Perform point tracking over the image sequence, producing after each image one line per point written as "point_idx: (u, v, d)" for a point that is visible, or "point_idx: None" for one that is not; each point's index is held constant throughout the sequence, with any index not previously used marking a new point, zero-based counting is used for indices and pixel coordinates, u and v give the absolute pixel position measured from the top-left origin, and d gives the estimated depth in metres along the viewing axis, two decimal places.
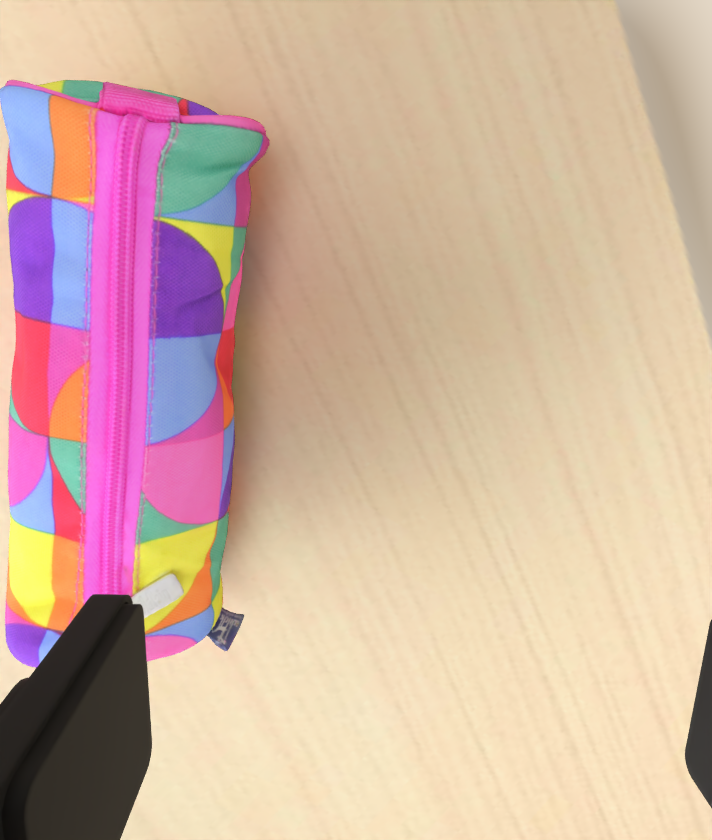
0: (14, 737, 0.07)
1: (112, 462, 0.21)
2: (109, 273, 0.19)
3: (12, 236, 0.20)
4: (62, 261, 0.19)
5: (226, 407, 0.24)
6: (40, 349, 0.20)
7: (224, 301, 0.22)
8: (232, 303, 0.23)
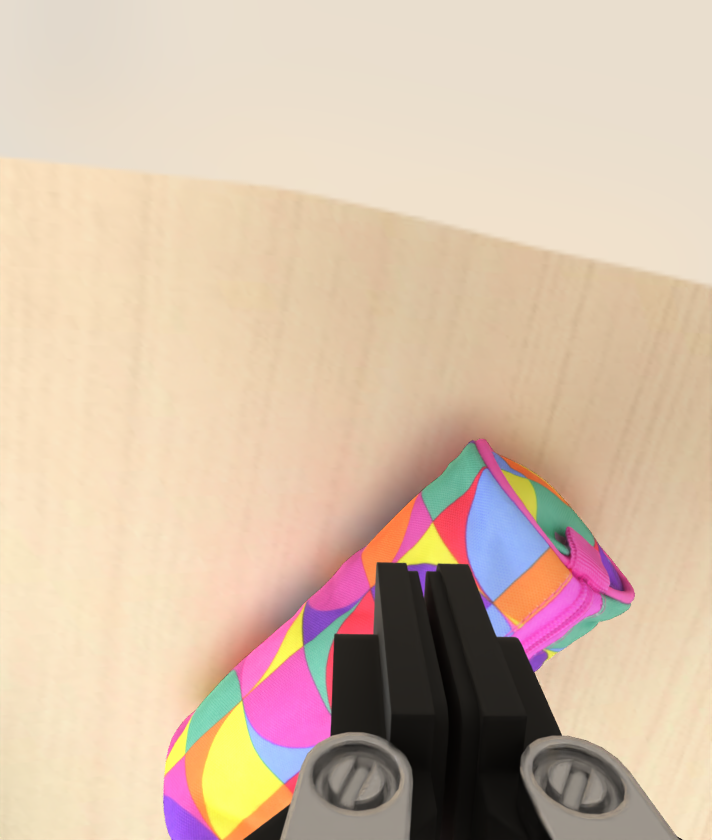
0: (413, 671, 0.08)
1: None
2: None
3: None
4: None
5: None
6: None
7: None
8: None
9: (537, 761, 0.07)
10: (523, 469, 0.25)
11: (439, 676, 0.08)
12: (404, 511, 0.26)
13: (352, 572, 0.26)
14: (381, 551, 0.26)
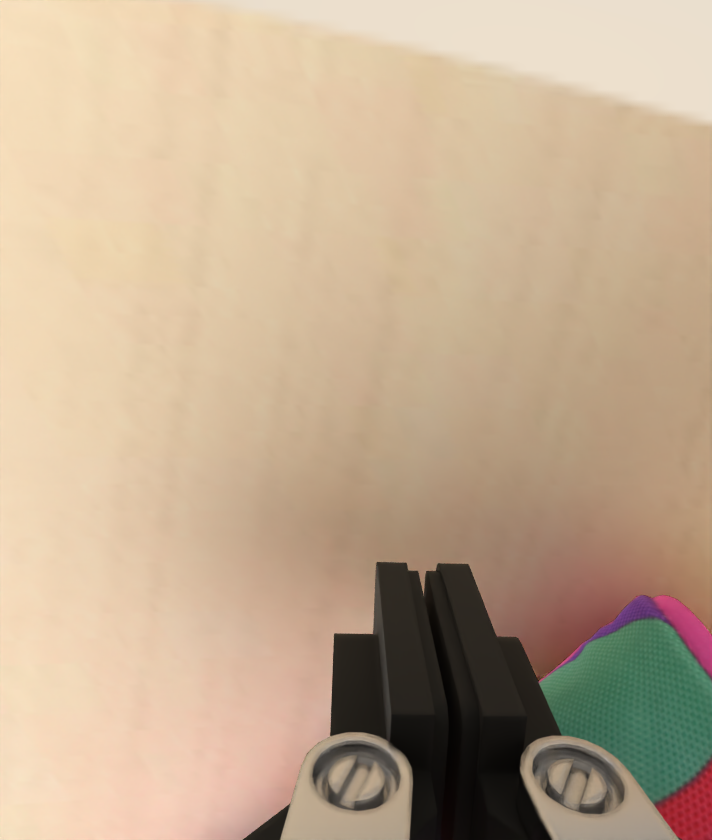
0: (413, 670, 0.08)
1: None
2: None
3: None
4: None
5: None
6: None
7: None
8: None
9: (537, 761, 0.07)
10: None
11: (439, 676, 0.08)
12: None
13: None
14: None
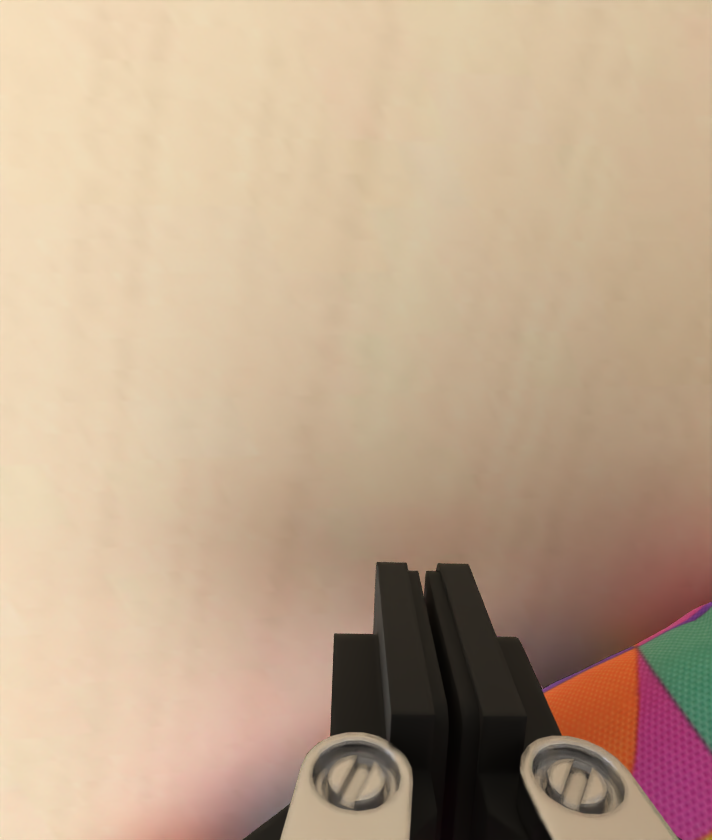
0: (413, 671, 0.08)
1: None
2: None
3: None
4: None
5: None
6: None
7: None
8: None
9: (537, 761, 0.07)
10: None
11: (439, 676, 0.08)
12: (598, 708, 0.11)
13: None
14: None
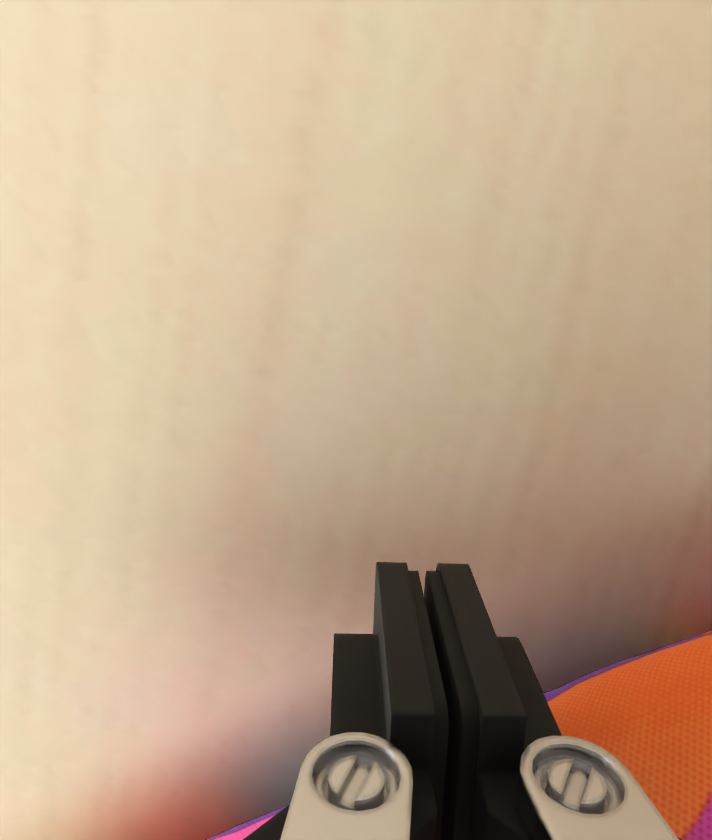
0: (413, 671, 0.08)
1: None
2: None
3: None
4: None
5: None
6: None
7: None
8: None
9: (537, 761, 0.07)
10: None
11: (439, 676, 0.08)
12: (682, 685, 0.10)
13: None
14: None
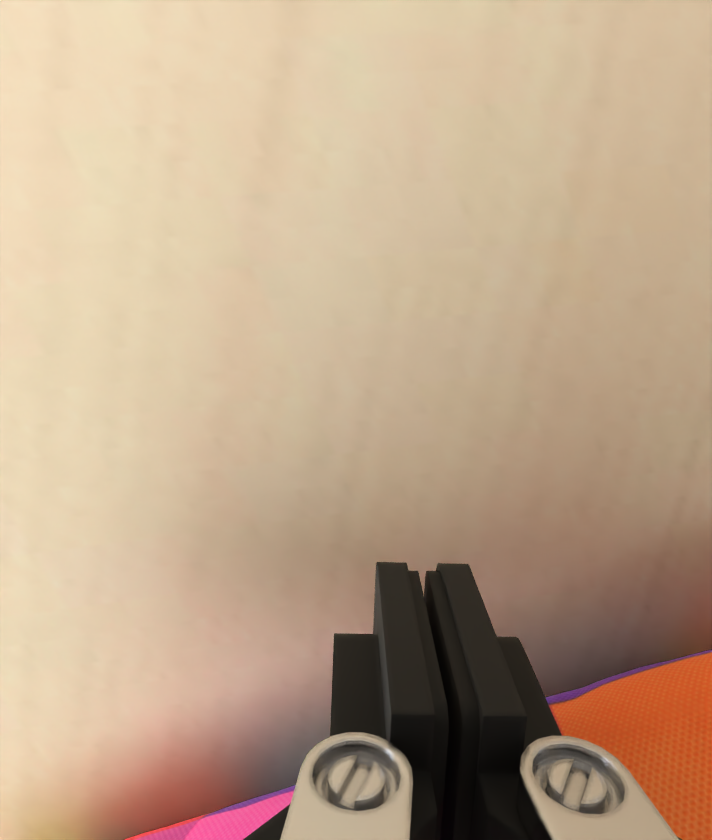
0: (413, 670, 0.08)
1: None
2: None
3: None
4: None
5: None
6: None
7: None
8: None
9: (537, 761, 0.07)
10: None
11: (439, 676, 0.08)
12: None
13: None
14: (659, 783, 0.10)
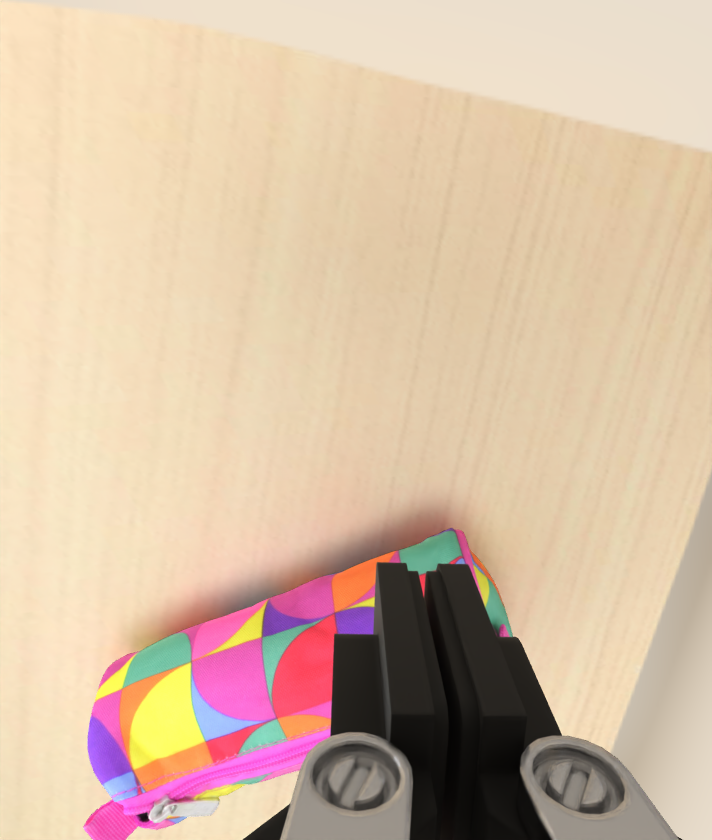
0: (413, 671, 0.08)
1: (284, 758, 0.29)
2: None
3: None
4: None
5: None
6: None
7: None
8: None
9: (537, 761, 0.07)
10: (482, 566, 0.32)
11: (439, 676, 0.08)
12: (379, 561, 0.32)
13: (320, 593, 0.32)
14: (352, 586, 0.31)
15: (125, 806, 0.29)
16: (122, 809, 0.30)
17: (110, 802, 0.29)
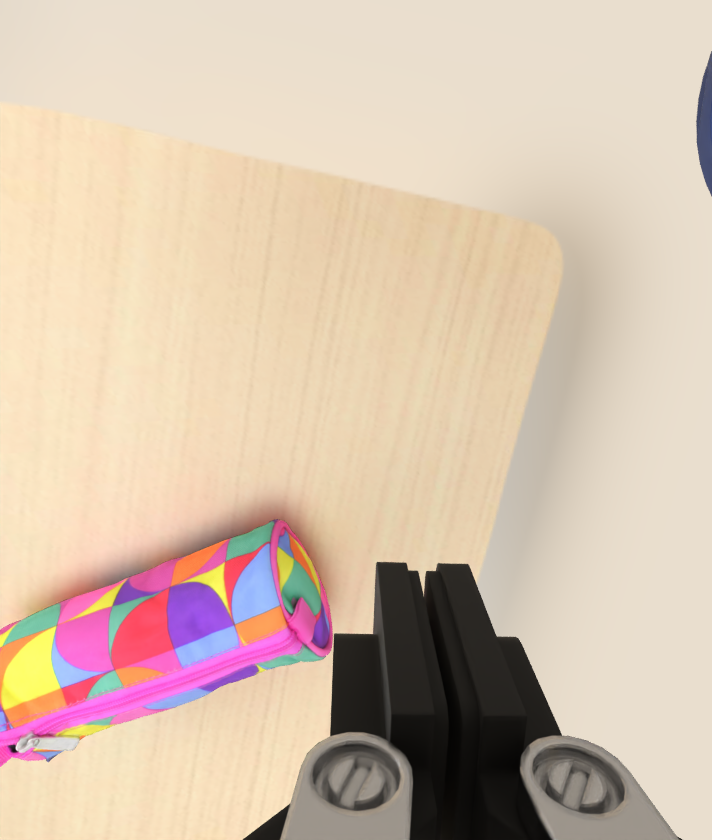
0: (413, 670, 0.08)
1: (123, 702, 0.36)
2: (216, 664, 0.35)
3: (203, 602, 0.35)
4: (208, 641, 0.35)
5: None
6: (157, 649, 0.35)
7: None
8: None
9: (537, 761, 0.07)
10: (297, 550, 0.38)
11: (439, 676, 0.08)
12: (215, 546, 0.39)
13: (165, 571, 0.39)
14: (188, 566, 0.38)
15: None
16: None
17: None
